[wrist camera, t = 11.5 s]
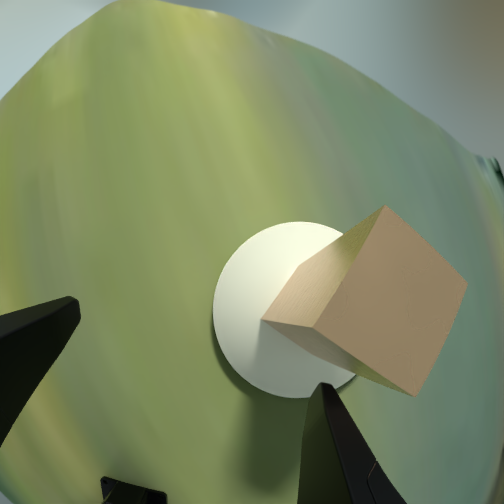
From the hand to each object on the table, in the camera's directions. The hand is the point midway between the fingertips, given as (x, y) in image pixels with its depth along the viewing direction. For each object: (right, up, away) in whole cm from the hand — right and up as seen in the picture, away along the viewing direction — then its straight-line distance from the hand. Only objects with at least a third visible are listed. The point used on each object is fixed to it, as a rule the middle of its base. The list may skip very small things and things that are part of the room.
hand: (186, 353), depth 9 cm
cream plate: (+6, -1, +14) cm, 15 cm away
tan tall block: (+6, -1, +12) cm, 14 cm away
